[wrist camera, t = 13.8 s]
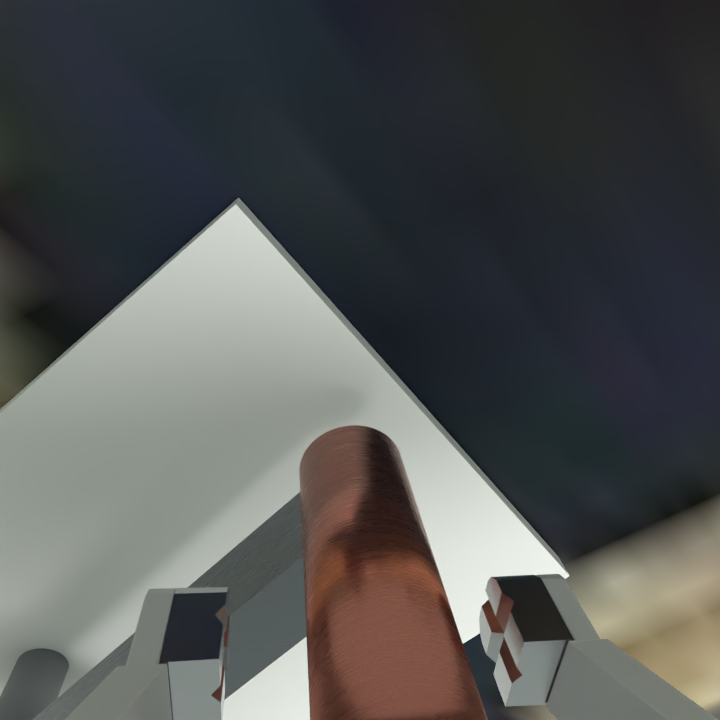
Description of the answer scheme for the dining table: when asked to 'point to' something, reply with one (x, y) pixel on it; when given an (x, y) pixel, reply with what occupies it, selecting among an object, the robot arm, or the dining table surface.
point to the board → (208, 463)
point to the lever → (339, 595)
